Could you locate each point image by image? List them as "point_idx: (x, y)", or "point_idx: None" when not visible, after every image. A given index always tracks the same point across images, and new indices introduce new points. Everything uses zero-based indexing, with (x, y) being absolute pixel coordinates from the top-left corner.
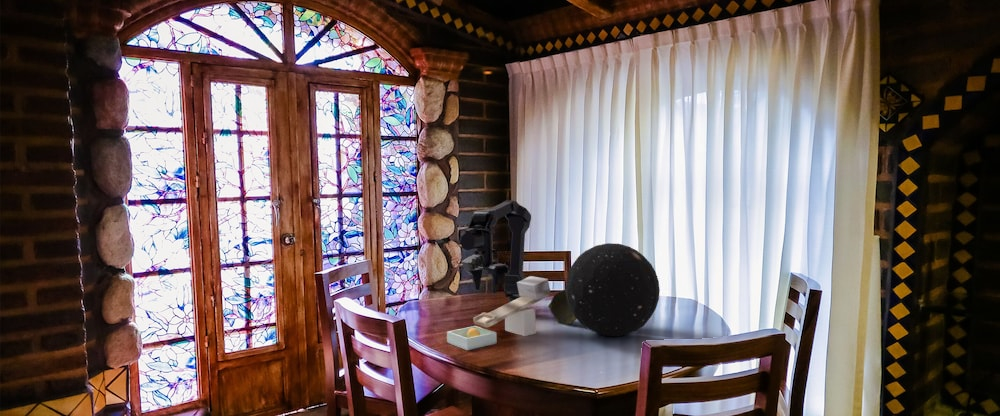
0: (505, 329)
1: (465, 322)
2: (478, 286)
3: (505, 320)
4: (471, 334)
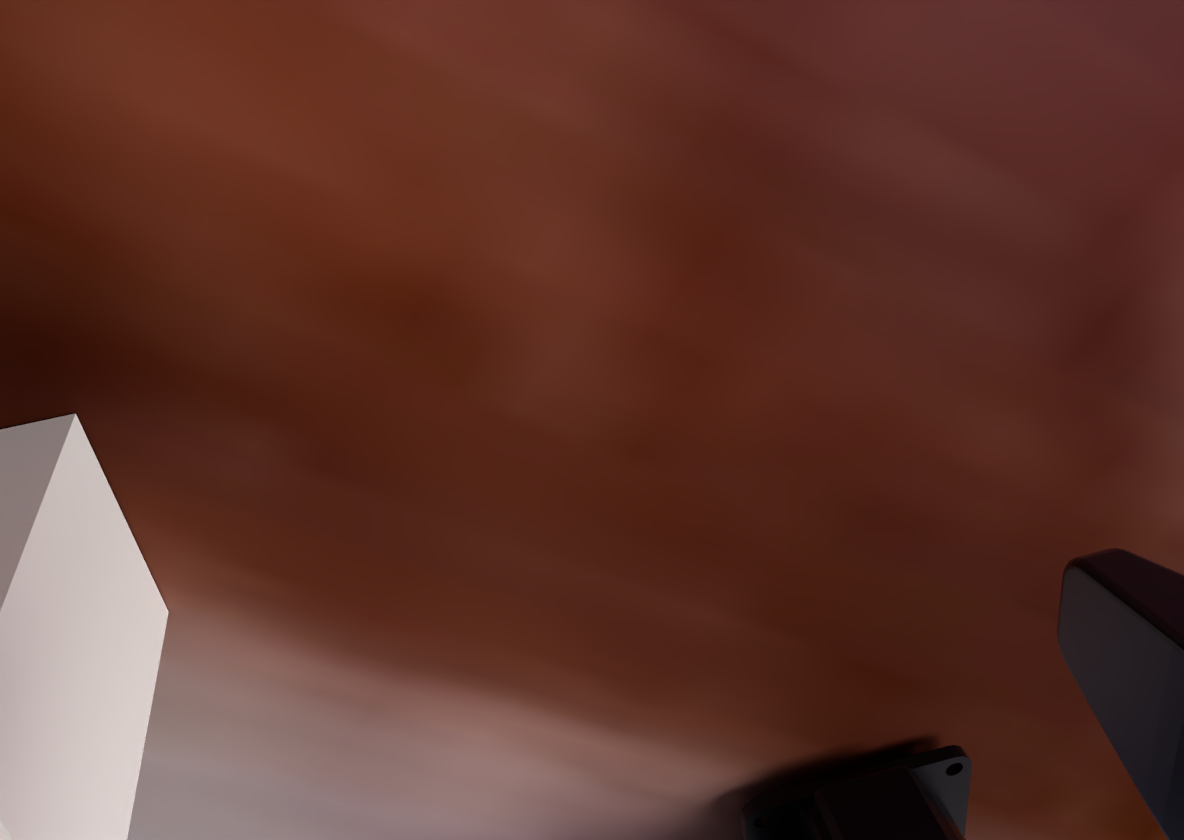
0: (63, 425)
1: (1023, 27)
2: (1138, 734)
3: (10, 528)
4: None
